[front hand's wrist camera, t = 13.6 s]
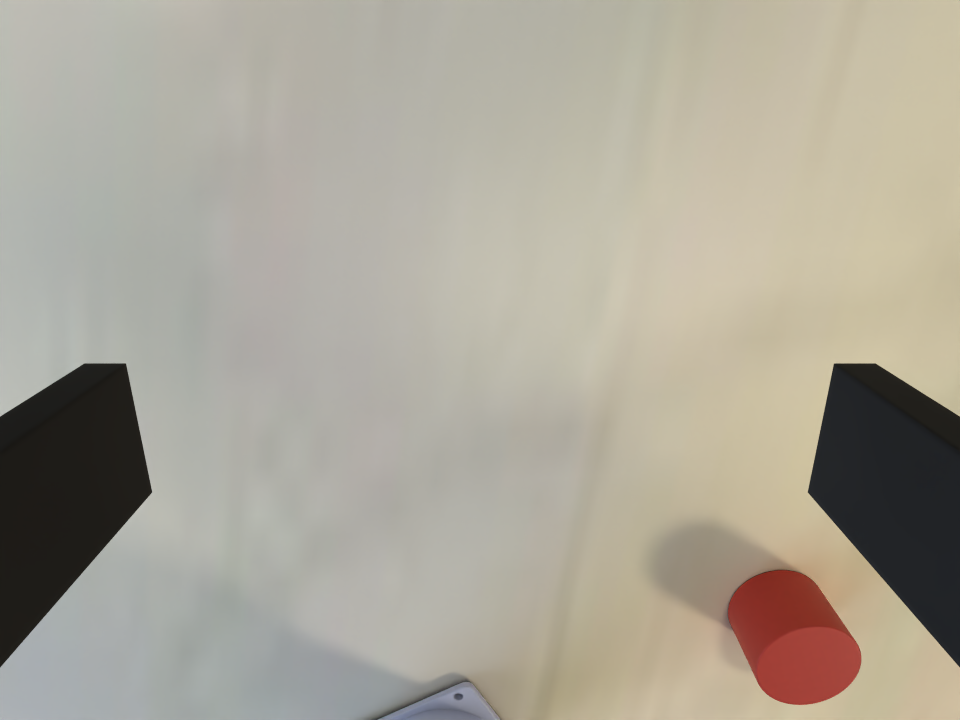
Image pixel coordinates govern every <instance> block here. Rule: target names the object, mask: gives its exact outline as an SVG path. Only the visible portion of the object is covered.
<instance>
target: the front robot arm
mask: <svg viewBox="0 0 960 720" xmlns="http://www.w3.org/2000/svg"><path fill="white" fill-rule="evenodd" d="M151 493H152V489H151V484H150V480H149V475H148V470H147V465H146V460H145V455H144V450H143V445H142V440H141V435H140V430H139V426H138V421H137V416H136V411H135V406H134V401H133V396H132V391H131V386H130V381H129V376H128V372H127V367H126V364H83V365H82V366H80V367H78V368H77V369H75V370H74V371H72V372H70V373H69V374H67V375H66V376H64V377H62V378H61V379H59V380H58V381H56V382H55V383H53V384H51V385H50V386H48V387H47V388H45V389H43V390H42V391H40V392H39V393H37V394H35V395H34V396H32V397H31V398H29V399H28V400H26V401H24V402H23V403H21V404H20V405H18V406H16V407H15V408H13V409H12V410H10V411H8V412H7V413H5V414H4V415H2V416H1V417H0V667H1V666H2V665H3V663H4V662H5V661H6V660H7V659H8V658H9V657H10V655H11V654H12V653H13V652H14V651H15V650H16V648H17V647H18V646H19V645H20V644H21V643H22V642H23V640H24V639H25V638H26V637H27V636H28V635H29V634H30V632H31V631H32V630H33V629H34V628H35V627H36V625H37V624H38V623H39V622H40V621H41V620H42V619H43V617H44V616H45V615H46V614H47V613H48V612H49V610H50V609H51V608H52V607H53V606H54V605H55V604H56V602H57V601H58V600H59V599H60V598H61V597H62V596H63V594H64V593H65V592H66V591H67V590H68V589H69V587H70V586H71V585H72V584H73V583H74V582H75V581H76V579H77V578H78V577H79V576H80V575H81V574H82V572H83V571H84V570H85V569H86V568H87V567H88V566H89V564H90V563H91V562H92V561H93V560H94V559H95V558H96V556H97V555H98V554H99V553H100V552H101V551H102V549H103V548H104V547H105V546H106V545H107V544H108V543H109V541H110V540H111V539H112V538H113V537H114V536H115V534H116V533H117V532H118V531H119V530H120V529H121V528H122V526H123V525H124V524H125V523H126V522H127V521H128V519H129V518H130V517H131V516H132V515H133V514H134V513H135V511H136V510H137V509H138V508H139V507H140V506H141V505H142V503H143V502H144V501H145V500H146V499H147V498H148V496H149V495H150V494H151ZM808 493H809V494H810V495H811V496H812V498H813V499H814V500H815V501H816V502H817V503H818V505H819V506H820V507H821V508H822V509H823V510H824V511H825V513H826V514H827V515H828V516H829V517H830V518H831V519H832V521H833V522H834V523H835V524H836V525H837V526H838V528H839V529H840V530H841V531H842V532H843V533H844V534H845V536H846V537H847V538H848V539H849V540H850V541H851V543H852V544H853V545H854V546H855V547H856V548H857V549H858V551H859V552H860V553H861V554H862V555H863V556H864V558H865V559H866V560H867V561H868V562H869V563H870V564H871V566H872V567H873V568H874V569H875V570H876V571H877V572H878V574H879V575H880V576H881V577H882V578H883V579H884V581H885V582H886V583H887V584H888V585H889V586H890V587H891V589H892V590H893V591H894V592H895V593H896V594H897V596H898V597H899V598H900V599H901V600H902V601H903V602H904V604H905V605H906V606H907V607H908V608H909V609H910V610H911V612H912V613H913V614H914V615H915V616H916V617H917V619H918V620H919V621H920V622H921V623H922V624H923V625H924V627H925V628H926V629H927V630H928V631H929V632H930V634H931V635H932V636H933V637H934V638H935V639H936V640H937V642H938V643H939V644H940V645H941V646H942V647H943V648H944V650H945V651H946V652H947V653H948V654H949V655H950V657H951V658H952V659H953V660H954V661H955V662H956V663H957V665H958V666H959V667H960V417H959V416H958V415H956V414H955V413H953V412H952V411H950V410H948V409H947V408H945V407H944V406H942V405H940V404H939V403H937V402H936V401H934V400H932V399H931V398H929V397H928V396H926V395H925V394H923V393H921V392H920V391H918V390H917V389H915V388H913V387H912V386H910V385H909V384H907V383H905V382H904V381H902V380H901V379H899V378H898V377H896V376H894V375H893V374H891V373H890V372H888V371H886V370H885V369H883V368H882V367H880V366H878V365H877V364H834V367H833V372H832V376H831V381H830V386H829V391H828V396H827V401H826V406H825V411H824V416H823V421H822V426H821V430H820V435H819V440H818V445H817V450H816V455H815V460H814V465H813V470H812V475H811V480H810V484H809V489H808Z"/></svg>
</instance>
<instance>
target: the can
mask: <svg viewBox="0 0 960 720" xmlns="http://www.w3.org/2000/svg"><path fill="white" fill-rule="evenodd" d="M728 618H729V622H730V624H731V626H732V628H733V631H734V633H735V635H736V637H737V639H738V641H739V643H740V646H741V648H742V650H743V652H744V654H745V656H746V658H747V660H748V663H749V665H750V667H751V669H752V671H753V673H754V675H755V678H756V680H757V682H758V684H759V686H760V687H761V689H762V690H763V691H764V692H765V693H766V694H767V695H769V696H770V697H772V698H773V699H775V700H778V701H780V702H783V703H787V704H794V705H806V704H813V703H818V702H821V701H824V700H827V699H829V698H832V697H834V696H835V695H837V694H839V693H840V692H842V691H843V690H844V689H846V688H847V687H848V686H849V685H850V684H851V683H852V682H853V680H854V679H855V677H856V676H857V674H858V672H859V669H860V666H861V652H860V649H859V646H858V644H857V643H856V641H855V640H854V638H853V637H852V635H851V634H850V632H849V631H848V630H847V628H846V627H845V625H844V624H843V622H842V621H841V619H840V618H839V616H838V615H837V613H836V612H835V611H834V609H833V608H832V606H831V605H830V603H829V602H828V600H827V599H826V597H825V596H824V595H823V593H822V592H821V590H820V589H819V587H818V586H817V585H816V584H815V582H814V581H812V580H811V579H810V578H808V577H807V576H805V575H803V574H800V573H797V572H794V571H787V570H776V571H770V572H766V573H762V574H760V575H757V576H755V577H753V578H751V579H750V580H748V581H746V582H745V583H744V584H743V585H741V586H740V587H739V588H738V590H737V591H736V592H735V593H734V595H733V597H732V599H731V601H730V604H729V608H728Z"/></svg>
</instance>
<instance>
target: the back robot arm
mask: <svg viewBox="0 0 960 720" xmlns="http://www.w3.org/2000/svg"><path fill="white" fill-rule="evenodd" d="M457 693H459V694H457ZM378 720H501V719H500V718H499V717H498V715H497V714H496V713H495V712H494V710H493V709H492V708H491V707H490V705H489V704H488V703H487V701H486V700H485V699H484V698H483V696H482V695H481V694H480V693H479V691H478V690H477V689H476V687H475V686H474V685H473V684H472V683H470V682H462V683H460V684H457V685H455V686H453V687H451V688H448V689H446V690H444V691H441V692H439V693H437V694H435V695H432V696H430V697H428V698H426V699H423V700H421V701H419V702H416V703H414V704H412V705H410V706H407V707H405V708H403V709H400V710H398V711H396V712H394V713H391V714H389V715H387V716H385V717H382V718H380V719H378Z"/></svg>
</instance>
